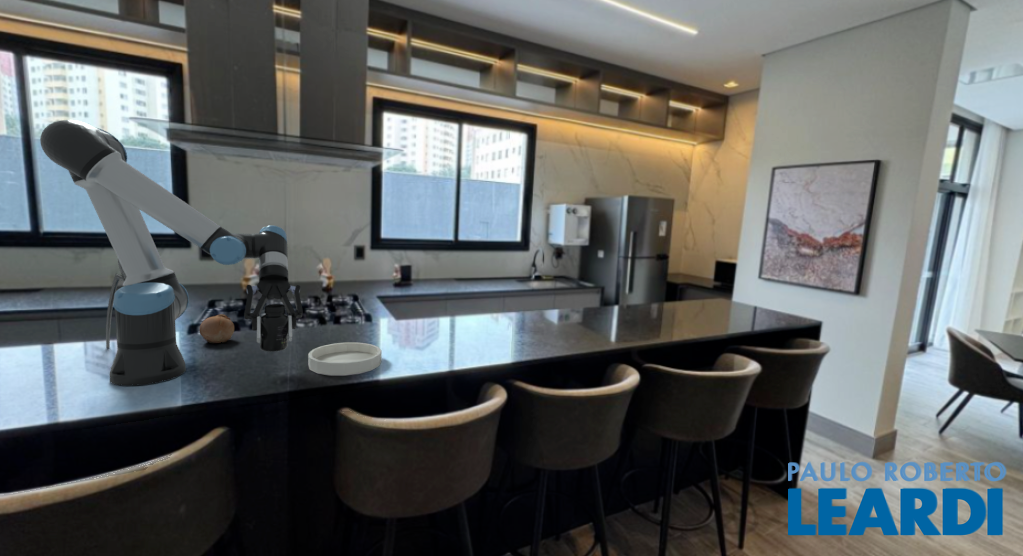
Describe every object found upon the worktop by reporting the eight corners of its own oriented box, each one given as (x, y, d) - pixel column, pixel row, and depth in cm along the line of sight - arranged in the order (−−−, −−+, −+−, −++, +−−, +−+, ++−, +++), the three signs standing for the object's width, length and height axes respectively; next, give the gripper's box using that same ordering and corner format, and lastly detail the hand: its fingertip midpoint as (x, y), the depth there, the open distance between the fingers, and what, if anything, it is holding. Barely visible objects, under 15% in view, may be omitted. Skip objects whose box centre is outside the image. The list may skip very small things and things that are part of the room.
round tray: (313, 379, 116) (313, 366, 116) (305, 357, 133) (305, 346, 133) (388, 370, 126) (388, 358, 126) (372, 350, 143) (372, 340, 143)
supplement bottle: (253, 349, 117) (254, 305, 115) (272, 343, 124) (273, 302, 122) (274, 353, 115) (275, 309, 114) (293, 347, 122) (294, 305, 121)
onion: (224, 347, 147) (234, 318, 151) (232, 346, 141) (242, 316, 144) (192, 341, 141) (203, 311, 145) (198, 339, 135) (209, 308, 138)
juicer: (105, 347, 132) (98, 249, 128) (149, 339, 141) (144, 247, 137) (121, 353, 127) (114, 251, 123) (165, 345, 137) (160, 250, 133)
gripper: (309, 279, 136) (313, 343, 124) (234, 278, 125) (231, 348, 114) (311, 264, 130) (316, 330, 118) (233, 262, 120) (230, 334, 108)
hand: (274, 339), depth 116 cm, fingers closed on supplement bottle, 7 cm apart
